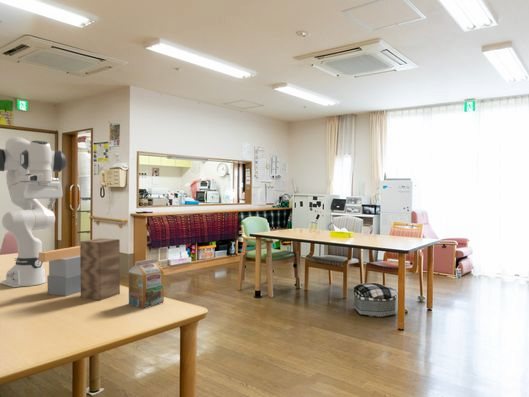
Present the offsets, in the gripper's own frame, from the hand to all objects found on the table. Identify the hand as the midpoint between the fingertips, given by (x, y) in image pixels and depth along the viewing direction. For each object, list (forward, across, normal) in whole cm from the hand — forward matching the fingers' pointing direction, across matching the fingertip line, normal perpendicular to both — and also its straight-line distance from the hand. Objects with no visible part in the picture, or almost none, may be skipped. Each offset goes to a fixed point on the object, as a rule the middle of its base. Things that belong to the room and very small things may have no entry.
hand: (41, 209), depth 176 cm
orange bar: (+24, -15, -4) cm, 29 cm away
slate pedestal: (+41, -17, -4) cm, 45 cm away
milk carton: (+41, -16, +44) cm, 63 cm away
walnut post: (+41, -18, +16) cm, 48 cm away
